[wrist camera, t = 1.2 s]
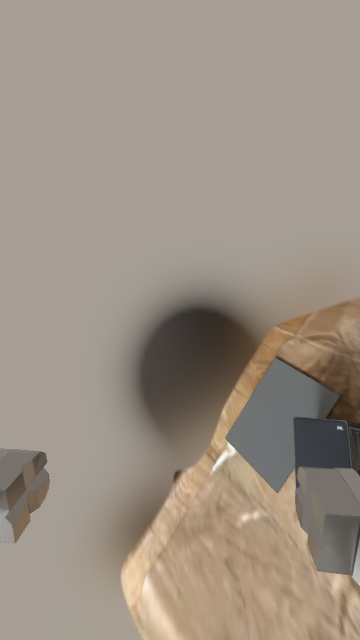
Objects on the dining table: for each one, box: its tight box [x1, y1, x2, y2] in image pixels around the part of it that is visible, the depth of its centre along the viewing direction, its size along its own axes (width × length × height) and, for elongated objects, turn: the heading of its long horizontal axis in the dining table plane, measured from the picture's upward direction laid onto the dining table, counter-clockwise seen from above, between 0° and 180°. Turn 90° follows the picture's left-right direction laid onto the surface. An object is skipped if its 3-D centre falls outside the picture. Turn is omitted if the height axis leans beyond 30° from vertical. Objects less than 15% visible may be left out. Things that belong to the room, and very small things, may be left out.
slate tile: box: [225, 358, 341, 493], centre depth 45 cm, size 12×18×1 cm, turn 137°
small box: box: [293, 416, 360, 489], centre depth 33 cm, size 11×6×10 cm, turn 170°
